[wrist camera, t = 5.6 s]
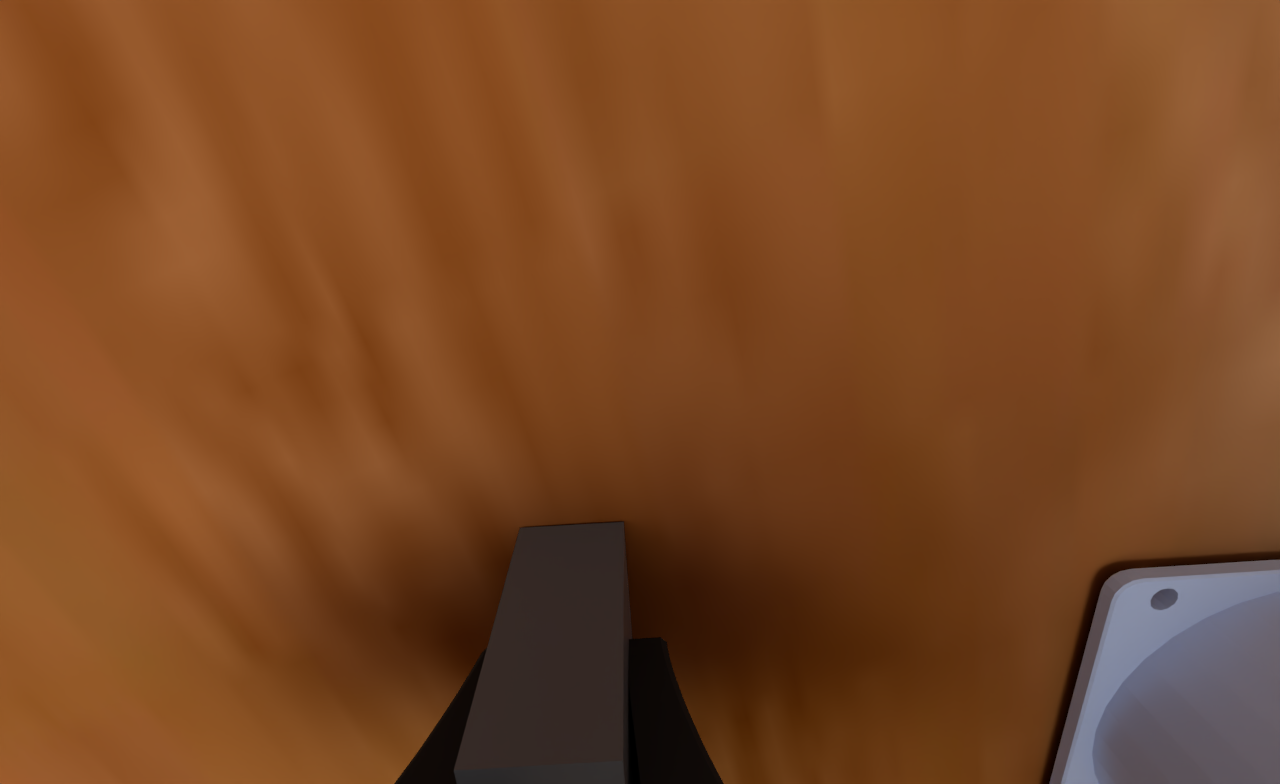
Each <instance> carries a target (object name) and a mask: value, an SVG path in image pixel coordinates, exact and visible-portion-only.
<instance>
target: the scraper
mask: <svg viewBox="0 0 1280 784" xmlns="http://www.w3.org/2000/svg"><path fill="white" fill-rule="evenodd" d="M629 639H632V626H631V612H630V599H629V585H628V572H627V559H626V545H625V532H624V522H612V523H594V524H577V525H560V526H543V527H526V528H520V529H519V533H518V537H517V540H516V544H515V548H514V551H513V555H512V559H511V562H510V566H509V570H508V573H507V577H506V581H505V584H504V588H503V592H502V595H501V599H500V603H499V606H498V610H497V614H496V617H495V621H494V625H493V628H492V632H491V636H490V639H489V643H488V647H487V650H486V654H485V658H484V661H483V665H482V669H481V672H480V676H479V680H478V683H477V687H476V691H475V694H474V698H473V702H472V705H471V709H470V713H469V716H468V720H467V724H466V727H465V731H464V735H463V738H462V742H461V746H460V749H459V753H458V757H457V760H456V764H455V768H454V774H455V778H456V782H457V784H637V783H636V771H635V758H634V746H633V734H632V721H631V709H630V697H629V684H628V668H629Z"/></svg>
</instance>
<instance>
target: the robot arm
mask: <svg viewBox="0 0 1280 784" xmlns="http://www.w3.org/2000/svg"><path fill="white" fill-rule="evenodd" d="M486 650H487V648H486V649H485V650H484V651H483V652H482V653H481V655H480V657H479V658H478V660H477V662H476V663H475V665H474V667H473V668H472V670H471V672H470V673H469V675H468V677H467V678H466V680H465V682H464V683H463V685H462V686H461V688H460V690H459V691H458V693H457V694H456V696H455V698H454V699H453V701H452V702H451V704H450V705H449V707H448V708H447V710H446V712H445V713H444V715H443V716H442V718H441V719H440V720H439V722H438V723H437V725H436V726H435V728H434V729H433V731H432V732H431V734H430V735H429V737H428V738H427V740H426V741H425V742H424V744H423V745H422V747H421V748H420V750H419V751H418V753H417V754H416V755H415V757H414V758H413V760H412V761H411V762H410V764H409V765H408V766H407V768H406V769H405V770H404V772H403V773H402V774H401V776H400V777H399V778H398V780H397V781H396V782H395V784H457V782H456V778H455V774H454V768H455V764H456V760H457V757H458V753H459V749H460V746H461V742H462V738H463V735H464V731H465V727H466V724H467V720H468V716H469V713H470V709H471V705H472V702H473V698H474V694H475V691H476V687H477V683H478V680H479V676H480V672H481V669H482V665H483V661H484V658H485V654H486ZM628 684H629V697H630V709H631V721H632V734H633V746H634V758H635V771H636V783H637V784H723V782H722V780H721V778H720V776H719V774H718V772H717V770H716V769H715V767H714V765H713V763H712V761H711V759H710V757H709V755H708V753H707V751H706V749H705V747H704V745H703V743H702V740H701V738H700V736H699V734H698V732H697V729H696V727H695V725H694V723H693V721H692V718H691V716H690V714H689V712H688V709H687V707H686V704H685V702H684V699H683V697H682V694H681V691H680V689H679V686H678V683H677V681H676V677H675V674H674V671H673V668H672V665H671V661H670V657H669V653H668V648H667V642H666V641H665V640H663V639H662V638H661V637H659V638H642V639H629V668H628ZM1049 784H1280V559H1279V560H1263V561H1247V562H1231V563H1215V564H1199V565H1183V566H1167V567H1151V568H1135V569H1127V570H1123V571H1119V572H1117V573H1115V574H1113V575H1112V576H1110V577H1109V578H1108V579H1107V580H1106V581H1105V583H1104V585H1103V587H1102V589H1101V591H1100V595H1099V599H1098V603H1097V606H1096V610H1095V614H1094V618H1093V621H1092V625H1091V629H1090V633H1089V636H1088V640H1087V644H1086V648H1085V651H1084V655H1083V659H1082V663H1081V666H1080V670H1079V674H1078V678H1077V681H1076V685H1075V689H1074V693H1073V696H1072V700H1071V704H1070V708H1069V711H1068V715H1067V719H1066V723H1065V726H1064V730H1063V734H1062V738H1061V742H1060V745H1059V749H1058V753H1057V757H1056V760H1055V764H1054V768H1053V772H1052V775H1051V779H1050V783H1049Z"/></svg>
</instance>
